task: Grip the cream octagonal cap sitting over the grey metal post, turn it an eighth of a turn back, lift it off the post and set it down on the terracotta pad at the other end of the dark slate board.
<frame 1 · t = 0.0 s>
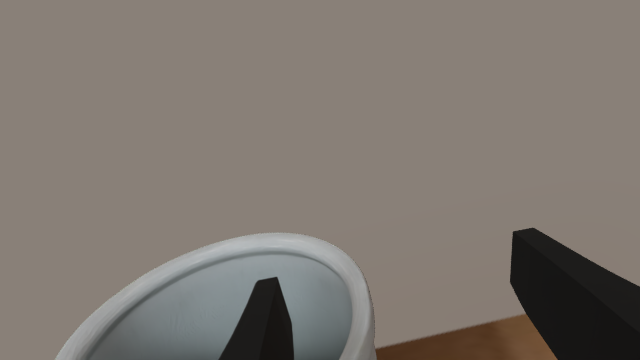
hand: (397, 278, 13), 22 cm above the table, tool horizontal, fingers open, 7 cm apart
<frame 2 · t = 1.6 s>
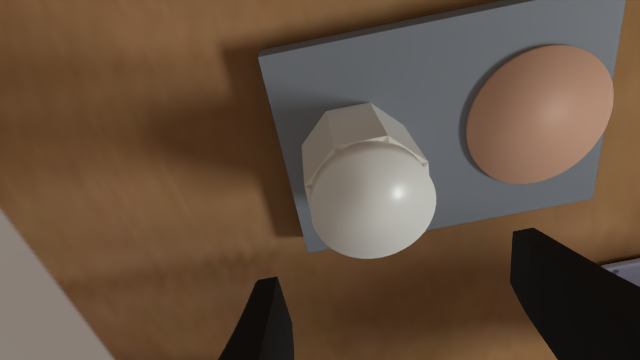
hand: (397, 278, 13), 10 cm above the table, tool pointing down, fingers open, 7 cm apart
cap: (355, 154, 20), point 1 cm above the table, touching post board
post board: (435, 125, 22), on the table
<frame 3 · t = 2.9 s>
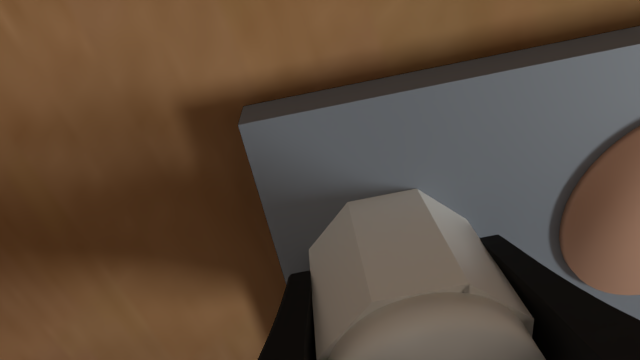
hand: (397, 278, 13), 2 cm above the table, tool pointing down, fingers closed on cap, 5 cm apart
cap: (390, 259, 13), point 2 cm above the table, touching gripper, post board
post board: (506, 208, 15), on the table
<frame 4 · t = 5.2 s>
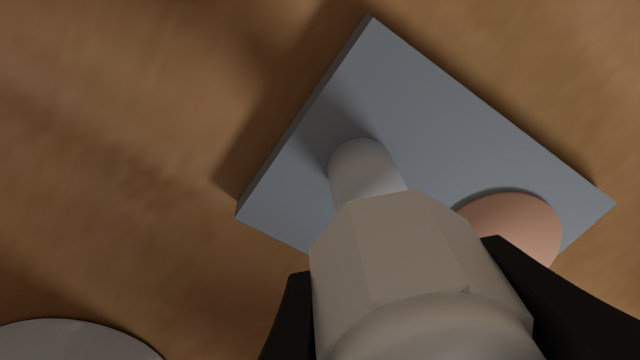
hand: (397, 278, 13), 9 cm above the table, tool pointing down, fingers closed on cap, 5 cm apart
cap: (390, 259, 13), point 8 cm above the table, touching gripper
post board: (422, 195, 22), on the table
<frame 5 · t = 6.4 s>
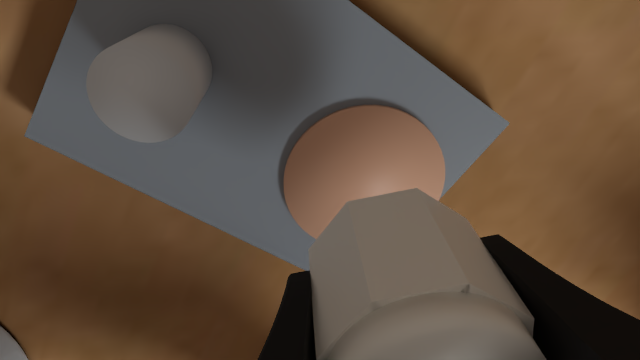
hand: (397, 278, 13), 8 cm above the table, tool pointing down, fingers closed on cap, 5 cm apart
cap: (390, 259, 13), point 7 cm above the table, touching gripper
post board: (276, 116, 18), on the table
when the fingers open (4 cm above the table, at t = 7.5 s): cap drops 1 cm, resting on post board.
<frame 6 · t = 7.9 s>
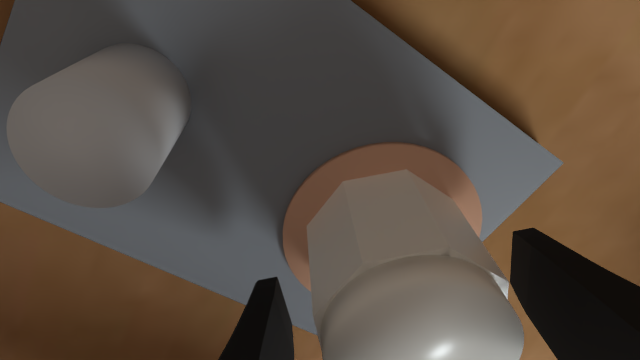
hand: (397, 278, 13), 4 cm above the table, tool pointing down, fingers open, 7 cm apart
cap: (382, 236, 14), point 2 cm above the table, touching post board
post board: (274, 152, 15), on the table
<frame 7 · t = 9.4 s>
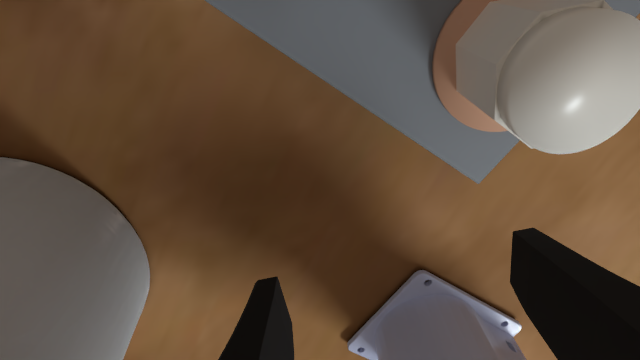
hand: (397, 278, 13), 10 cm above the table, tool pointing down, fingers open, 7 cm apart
cap: (511, 57, 18), point 2 cm above the table, touching post board
utensil holder: (28, 259, 24), on the table
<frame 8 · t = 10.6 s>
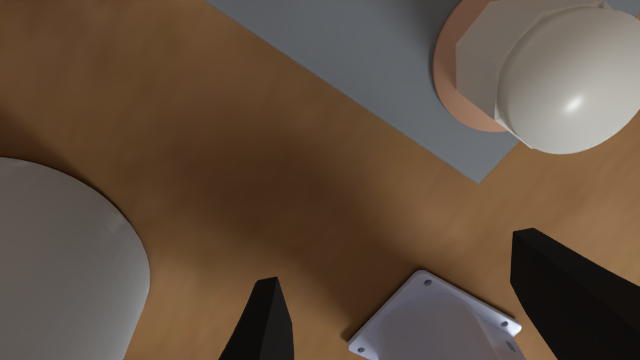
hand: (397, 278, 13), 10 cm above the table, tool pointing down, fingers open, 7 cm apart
cap: (511, 57, 18), point 2 cm above the table, touching post board
utensil holder: (28, 259, 24), on the table
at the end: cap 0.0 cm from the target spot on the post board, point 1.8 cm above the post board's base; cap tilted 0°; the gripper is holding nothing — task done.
